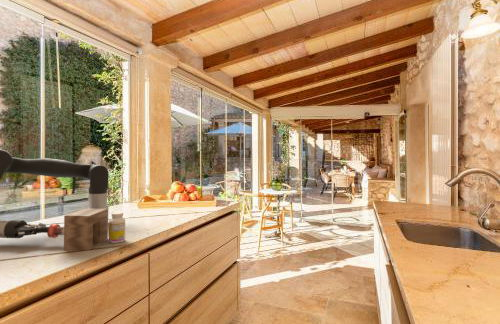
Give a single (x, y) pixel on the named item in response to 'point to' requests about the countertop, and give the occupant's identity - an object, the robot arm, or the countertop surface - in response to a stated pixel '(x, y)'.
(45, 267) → the countertop surface
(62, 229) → the red plug
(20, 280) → the countertop surface
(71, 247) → the walnut block
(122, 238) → the supplement bottle
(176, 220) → the countertop surface
